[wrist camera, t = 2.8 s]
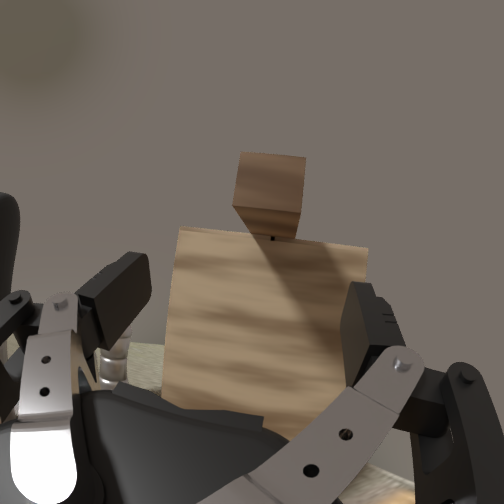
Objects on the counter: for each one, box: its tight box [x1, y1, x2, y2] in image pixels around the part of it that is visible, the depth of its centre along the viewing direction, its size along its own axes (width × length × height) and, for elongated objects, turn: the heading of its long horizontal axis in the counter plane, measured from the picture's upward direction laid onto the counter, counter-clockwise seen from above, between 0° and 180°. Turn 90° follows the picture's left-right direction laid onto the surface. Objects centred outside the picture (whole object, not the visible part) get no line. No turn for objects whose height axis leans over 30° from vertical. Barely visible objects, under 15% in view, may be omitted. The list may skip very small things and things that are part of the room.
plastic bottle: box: [99, 325, 132, 390], centre depth 48 cm, size 6×7×20 cm
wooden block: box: [161, 226, 368, 441], centre depth 34 cm, size 18×18×32 cm
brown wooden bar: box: [232, 152, 306, 241], centre depth 31 cm, size 28×4×4 cm, turn 174°
